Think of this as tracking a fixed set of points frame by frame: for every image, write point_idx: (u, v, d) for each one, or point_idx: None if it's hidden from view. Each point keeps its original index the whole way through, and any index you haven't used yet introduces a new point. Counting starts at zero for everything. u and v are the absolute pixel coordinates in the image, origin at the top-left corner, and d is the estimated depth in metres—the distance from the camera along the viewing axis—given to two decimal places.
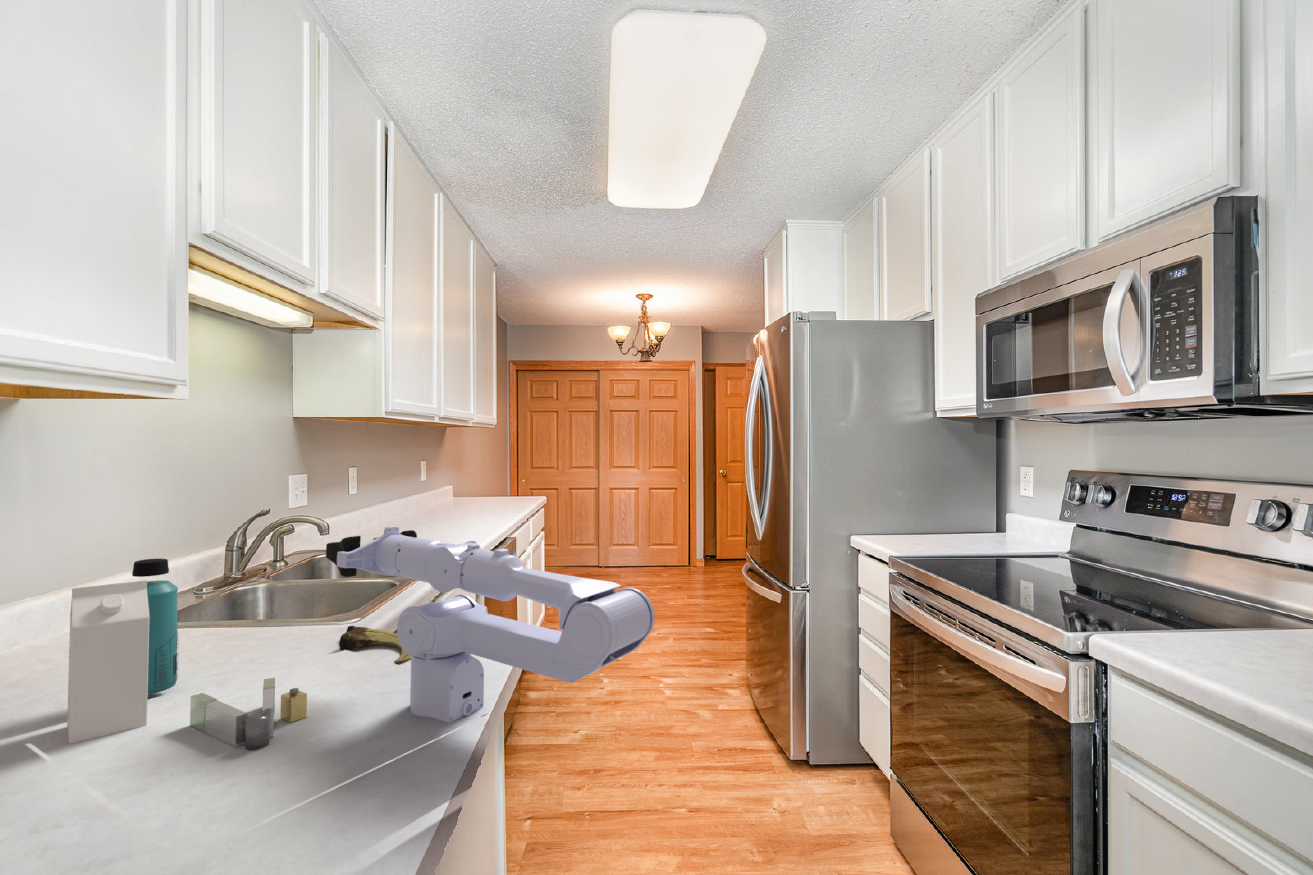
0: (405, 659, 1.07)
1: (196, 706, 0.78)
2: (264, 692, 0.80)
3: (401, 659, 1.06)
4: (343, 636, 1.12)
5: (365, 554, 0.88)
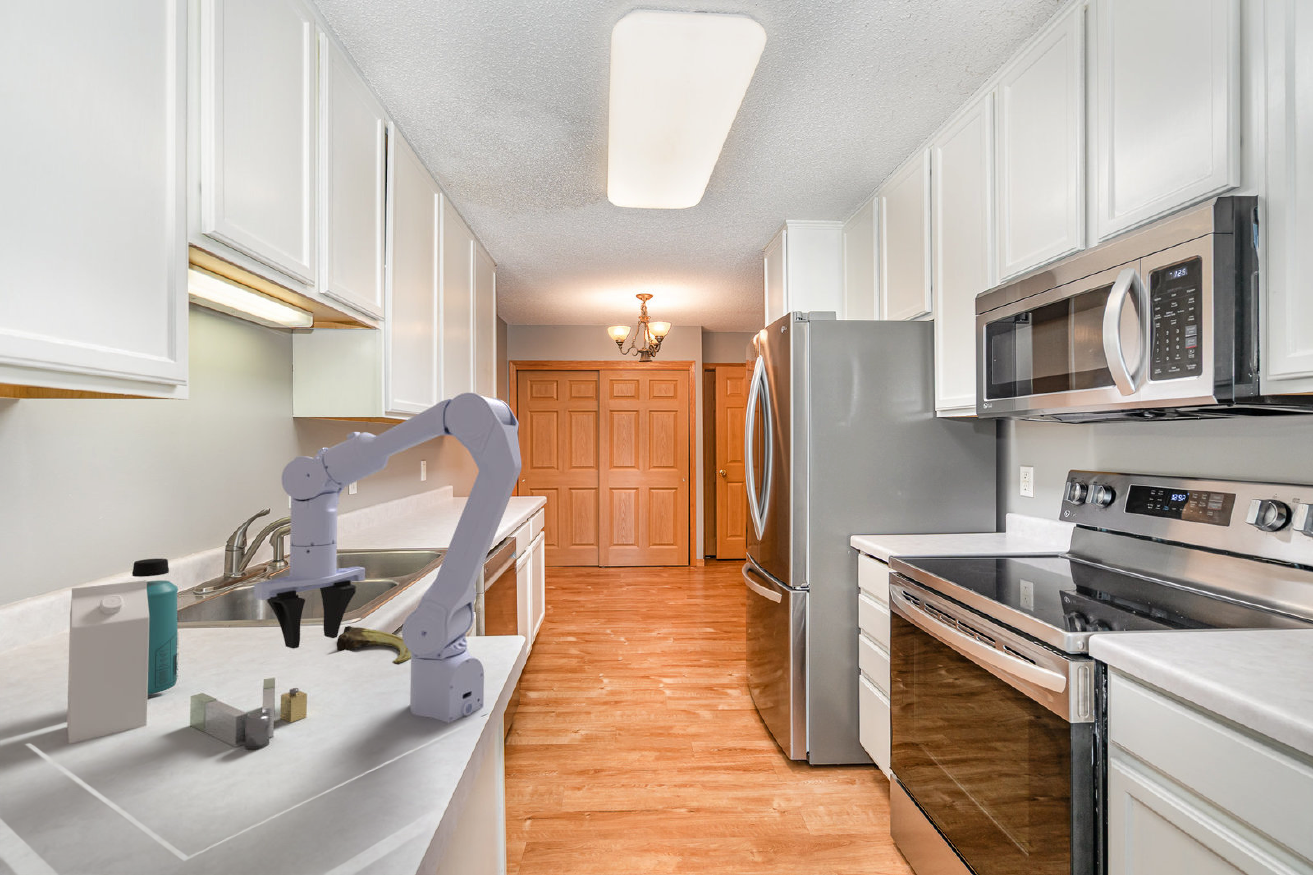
0: (403, 659, 1.07)
1: (196, 706, 0.78)
2: (264, 692, 0.80)
3: (399, 660, 1.06)
4: (340, 636, 1.12)
5: None
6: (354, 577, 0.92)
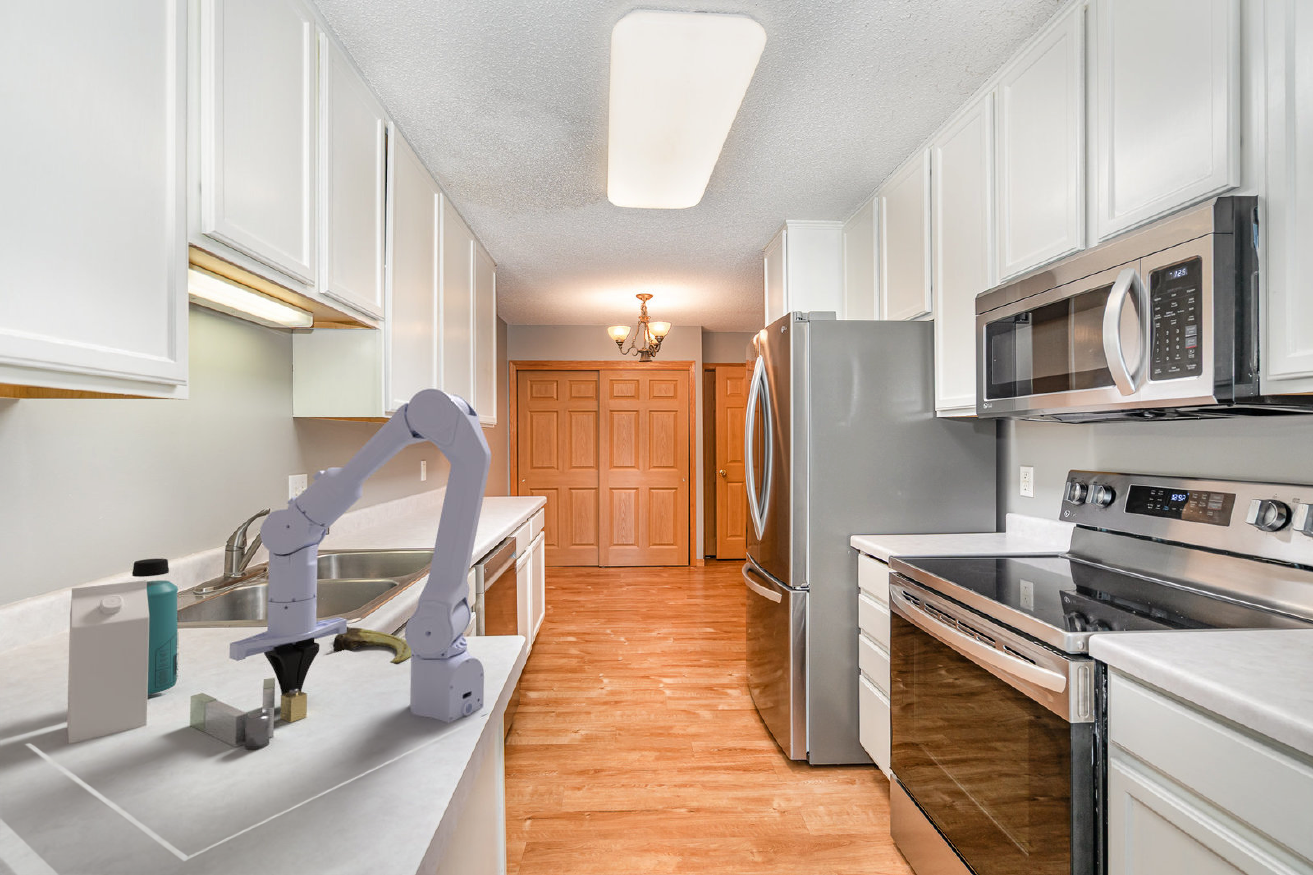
0: (401, 659, 1.07)
1: (196, 706, 0.78)
2: (264, 692, 0.80)
3: (397, 660, 1.06)
4: (337, 637, 1.12)
5: None
6: (335, 629, 0.90)
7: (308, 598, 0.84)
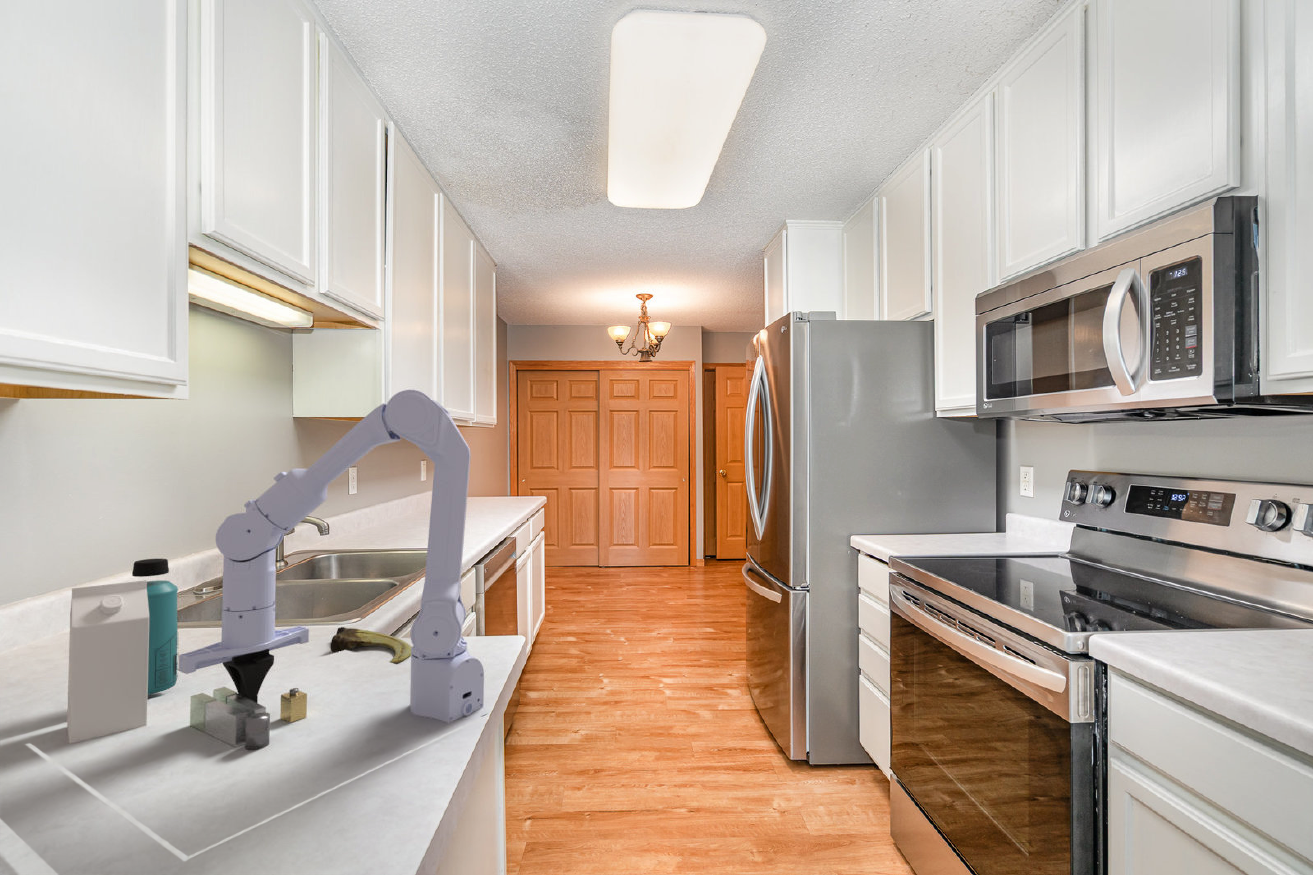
0: (399, 660, 1.07)
1: (196, 706, 0.78)
2: (232, 699, 0.78)
3: (395, 660, 1.06)
4: (334, 638, 1.11)
5: None
6: (297, 639, 0.85)
7: (265, 607, 0.79)
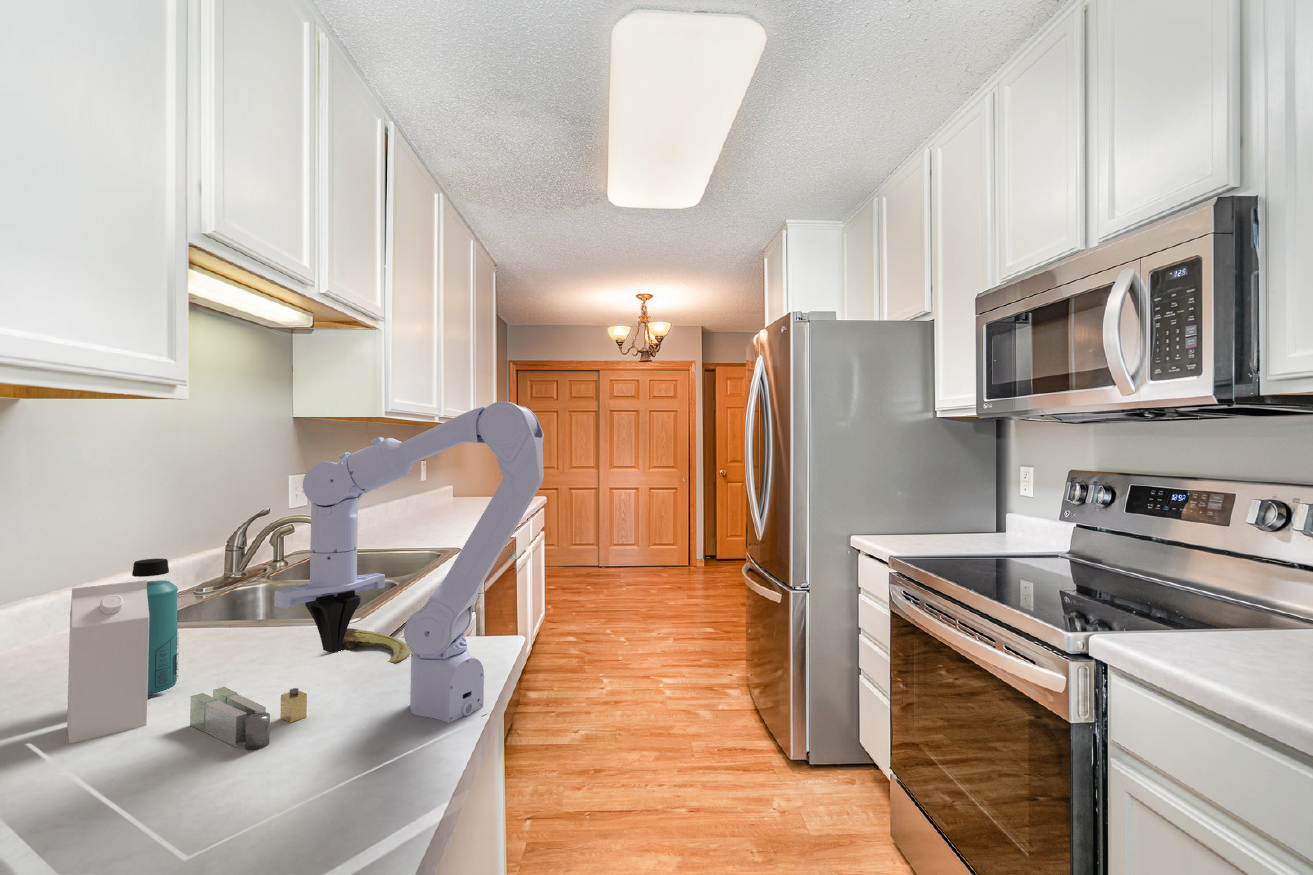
0: (398, 660, 1.06)
1: (196, 706, 0.78)
2: (232, 699, 0.78)
3: (393, 660, 1.06)
4: None
5: None
6: (374, 584, 0.91)
7: (350, 550, 0.85)
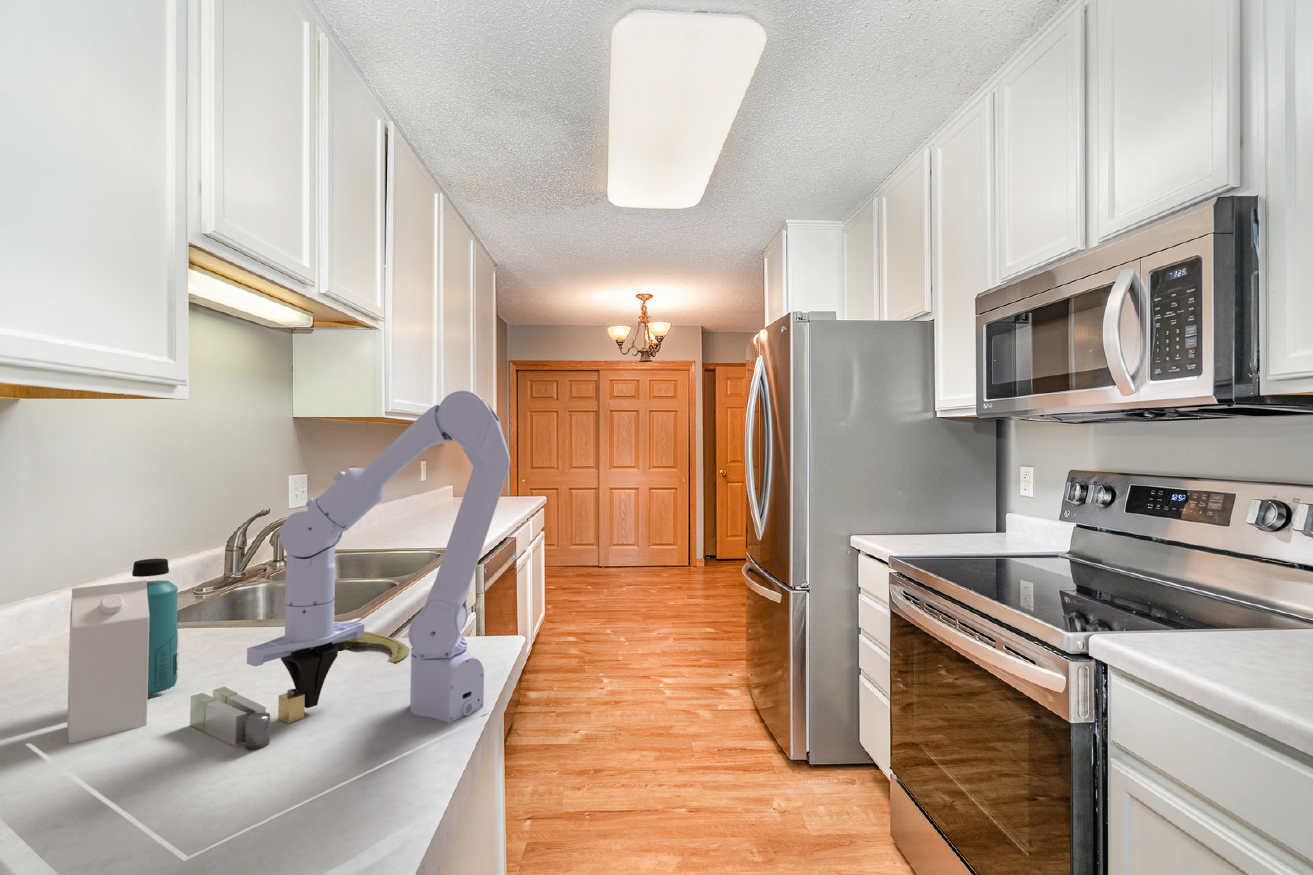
0: (396, 660, 1.06)
1: (196, 706, 0.78)
2: (232, 699, 0.78)
3: (392, 660, 1.06)
4: None
5: None
6: (353, 634, 0.88)
7: (326, 602, 0.82)
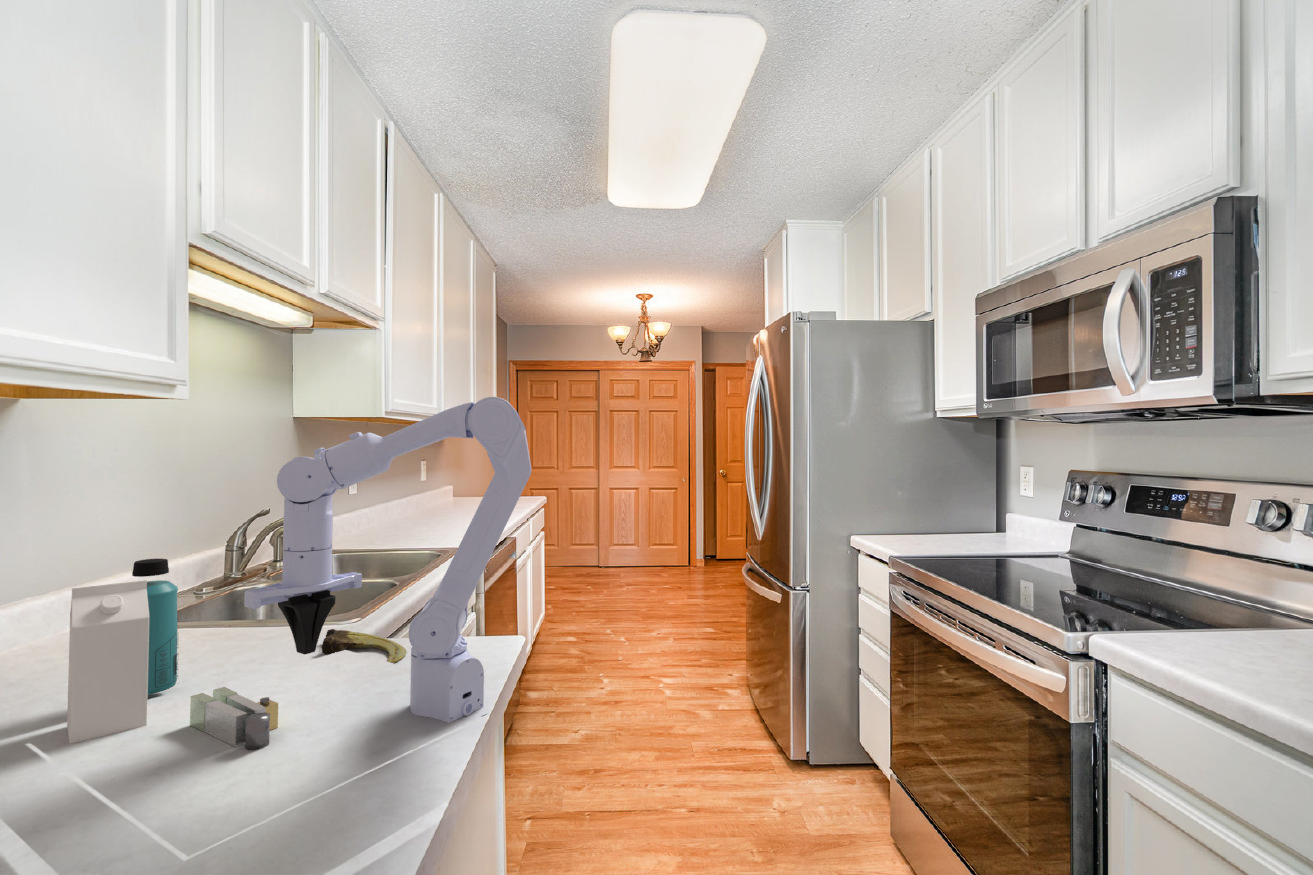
0: (394, 661, 1.06)
1: (196, 706, 0.78)
2: (232, 699, 0.78)
3: (390, 661, 1.05)
4: (326, 639, 1.10)
5: None
6: (350, 583, 0.88)
7: (324, 548, 0.82)
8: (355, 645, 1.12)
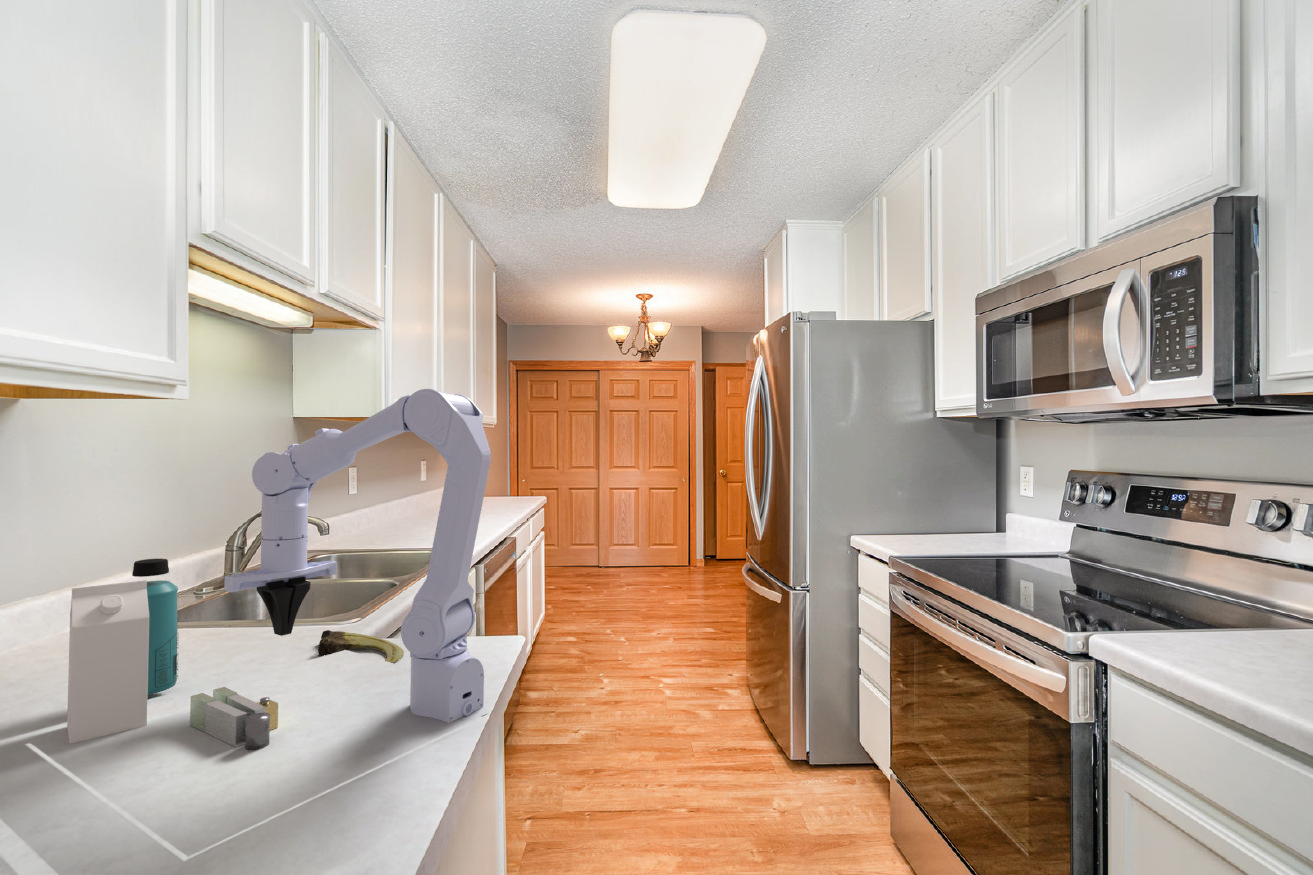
0: (392, 662, 1.06)
1: (196, 706, 0.78)
2: (232, 699, 0.78)
3: None
4: (322, 641, 1.10)
5: None
6: (326, 571, 0.94)
7: (299, 537, 0.89)
8: (352, 646, 1.12)
